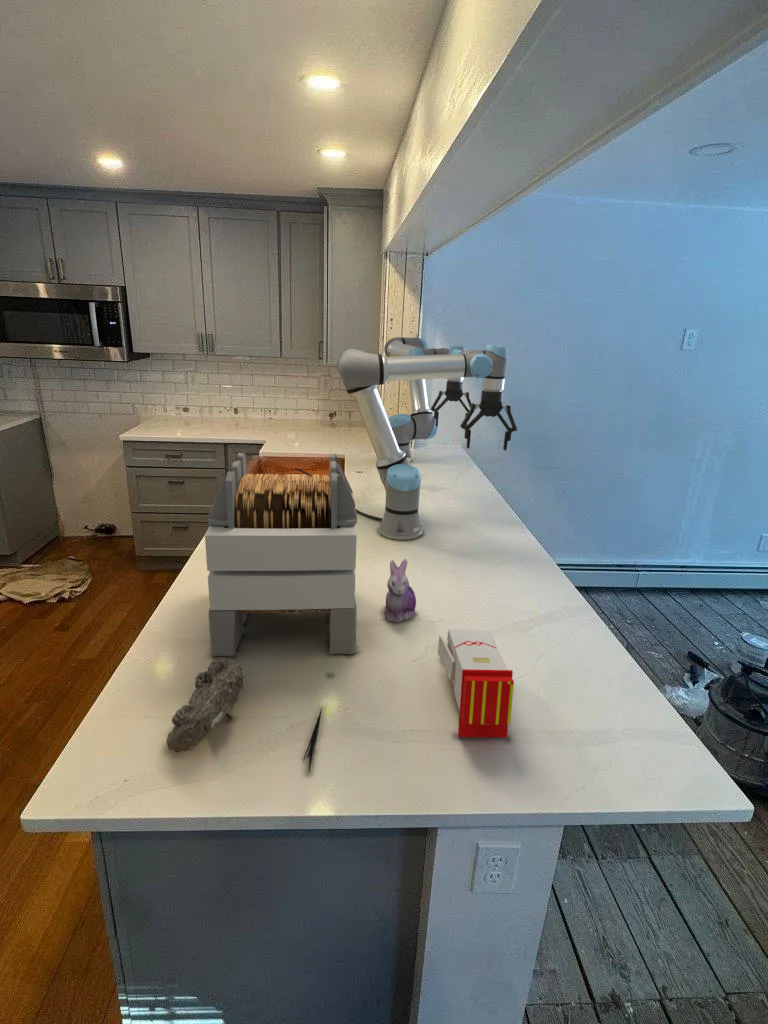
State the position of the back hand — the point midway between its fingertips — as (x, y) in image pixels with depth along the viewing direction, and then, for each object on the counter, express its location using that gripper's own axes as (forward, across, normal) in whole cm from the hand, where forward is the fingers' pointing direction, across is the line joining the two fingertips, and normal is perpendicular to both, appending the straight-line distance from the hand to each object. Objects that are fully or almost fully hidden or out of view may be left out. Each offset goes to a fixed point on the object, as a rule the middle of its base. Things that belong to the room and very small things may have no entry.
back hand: (451, 426), depth 268 cm
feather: (+23, -40, -178) cm, 184 cm away
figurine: (+23, -24, -137) cm, 141 cm away
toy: (+23, -10, -167) cm, 169 cm away
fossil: (+23, -60, -178) cm, 190 cm away
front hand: (-4, +7, -61) cm, 62 cm away
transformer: (+23, -52, -141) cm, 152 cm away
